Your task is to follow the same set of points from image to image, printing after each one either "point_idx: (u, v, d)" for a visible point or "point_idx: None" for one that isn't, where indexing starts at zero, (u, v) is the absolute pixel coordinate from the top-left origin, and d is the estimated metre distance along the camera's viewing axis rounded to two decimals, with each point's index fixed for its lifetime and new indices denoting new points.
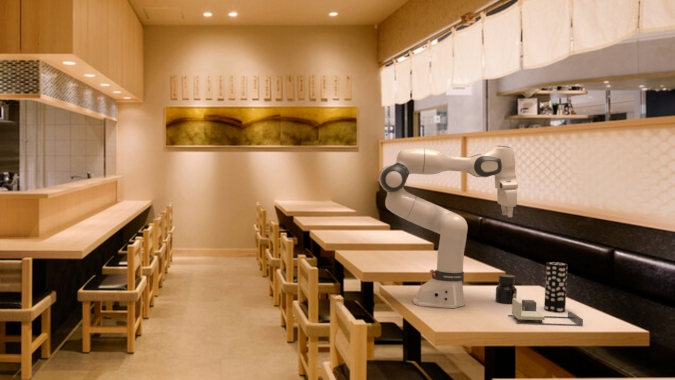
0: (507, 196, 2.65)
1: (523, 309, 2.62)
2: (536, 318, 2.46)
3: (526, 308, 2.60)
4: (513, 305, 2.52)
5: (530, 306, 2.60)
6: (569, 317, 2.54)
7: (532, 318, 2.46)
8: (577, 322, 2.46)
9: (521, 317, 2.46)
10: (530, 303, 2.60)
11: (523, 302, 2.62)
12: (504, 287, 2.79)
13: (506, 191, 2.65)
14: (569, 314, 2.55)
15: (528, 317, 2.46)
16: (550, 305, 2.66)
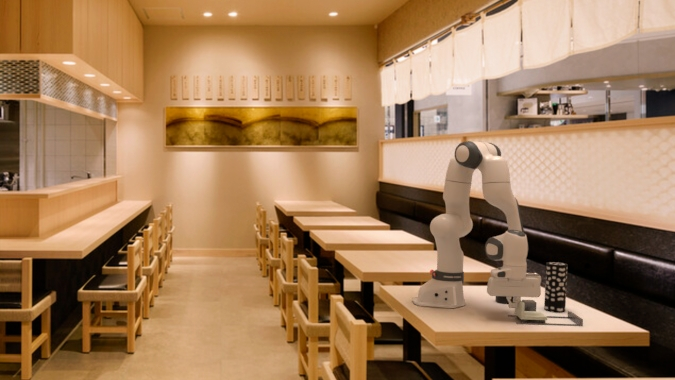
0: (488, 282, 2.51)
1: None
2: (539, 318, 2.46)
3: (526, 308, 2.60)
4: None
5: (530, 306, 2.60)
6: (569, 317, 2.54)
7: (535, 318, 2.46)
8: (577, 322, 2.46)
9: (524, 317, 2.46)
10: (530, 303, 2.60)
11: (523, 302, 2.62)
12: None
13: None
14: (569, 314, 2.55)
15: (531, 317, 2.46)
16: (550, 305, 2.66)
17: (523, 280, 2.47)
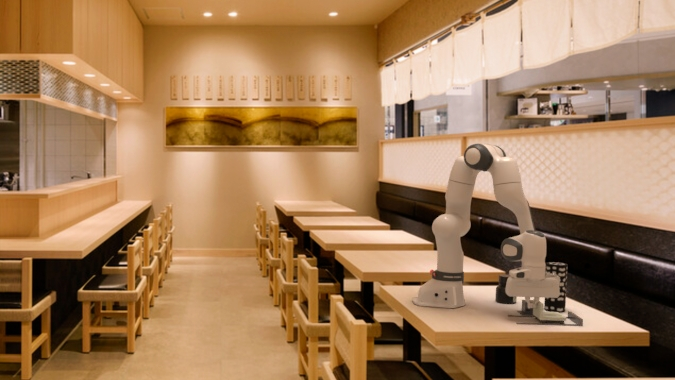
0: (506, 283, 2.51)
1: (523, 309, 2.62)
2: (558, 319, 2.46)
3: (526, 308, 2.60)
4: None
5: None
6: (569, 317, 2.54)
7: (554, 319, 2.46)
8: (577, 322, 2.46)
9: (543, 318, 2.46)
10: None
11: (523, 302, 2.62)
12: (504, 287, 2.79)
13: (508, 278, 2.51)
14: (569, 314, 2.55)
15: (550, 318, 2.46)
16: (550, 305, 2.66)
17: (542, 281, 2.47)
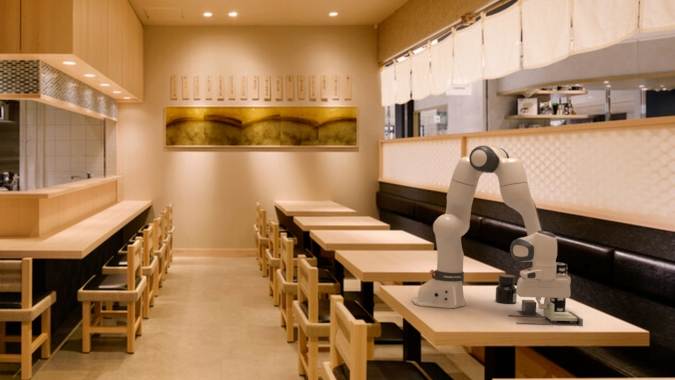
0: (517, 283, 2.51)
1: (523, 309, 2.62)
2: (569, 319, 2.46)
3: (526, 308, 2.60)
4: None
5: (530, 306, 2.60)
6: None
7: (565, 319, 2.46)
8: (577, 322, 2.46)
9: (554, 318, 2.46)
10: (530, 303, 2.60)
11: (523, 302, 2.62)
12: (504, 287, 2.79)
13: (519, 278, 2.51)
14: None
15: (561, 318, 2.46)
16: None
17: (553, 281, 2.47)
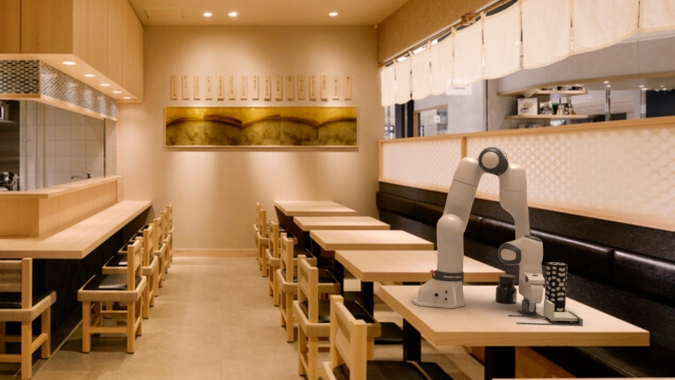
0: (533, 292, 2.52)
1: (523, 309, 2.62)
2: (569, 319, 2.46)
3: (526, 308, 2.60)
4: (545, 306, 2.52)
5: None
6: None
7: (565, 319, 2.46)
8: (577, 322, 2.46)
9: (554, 318, 2.46)
10: None
11: (523, 302, 2.62)
12: (504, 287, 2.79)
13: (532, 286, 2.53)
14: None
15: (561, 318, 2.46)
16: None
17: None
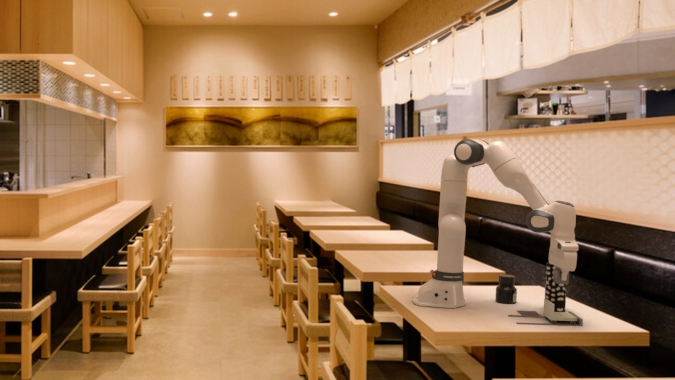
0: (566, 259, 2.39)
1: (555, 278, 2.49)
2: (569, 319, 2.46)
3: (558, 277, 2.47)
4: (545, 306, 2.52)
5: None
6: None
7: (565, 319, 2.46)
8: (577, 322, 2.46)
9: (554, 318, 2.46)
10: None
11: (555, 271, 2.49)
12: (504, 287, 2.79)
13: (565, 253, 2.40)
14: None
15: (561, 318, 2.46)
16: None
17: None
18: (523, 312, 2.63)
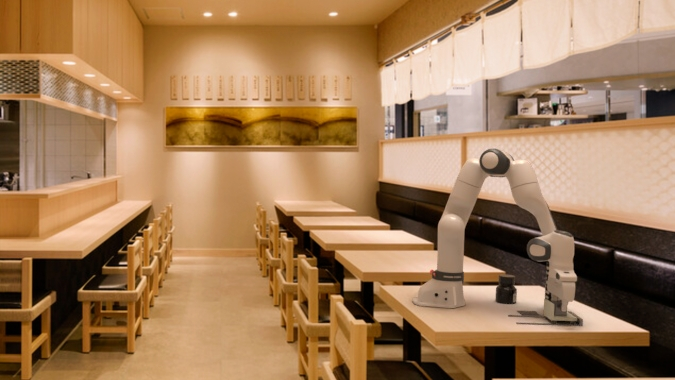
0: (564, 289, 2.40)
1: None
2: (569, 319, 2.46)
3: (556, 309, 2.48)
4: (545, 306, 2.52)
5: (560, 307, 2.48)
6: None
7: (565, 319, 2.46)
8: (577, 322, 2.46)
9: (554, 318, 2.46)
10: (561, 304, 2.48)
11: (553, 303, 2.50)
12: (504, 287, 2.79)
13: (564, 284, 2.40)
14: None
15: (561, 318, 2.46)
16: None
17: None
18: (523, 312, 2.63)
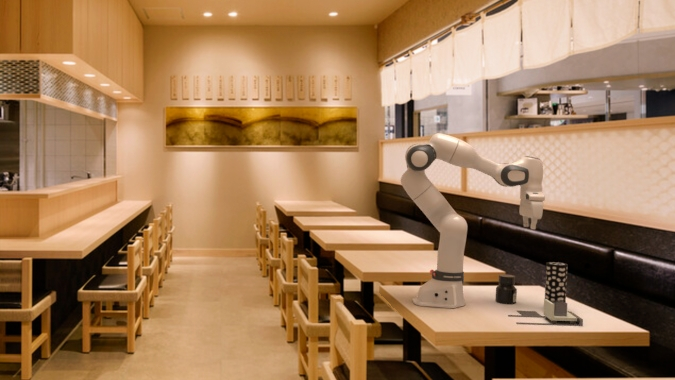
0: (533, 208, 2.61)
1: None
2: (569, 319, 2.46)
3: (556, 309, 2.48)
4: (545, 306, 2.52)
5: (560, 307, 2.48)
6: None
7: (565, 319, 2.46)
8: (577, 322, 2.46)
9: (554, 318, 2.46)
10: (561, 304, 2.48)
11: (553, 303, 2.50)
12: (504, 287, 2.79)
13: (532, 203, 2.62)
14: None
15: (561, 318, 2.46)
16: None
17: None
18: (523, 312, 2.63)
